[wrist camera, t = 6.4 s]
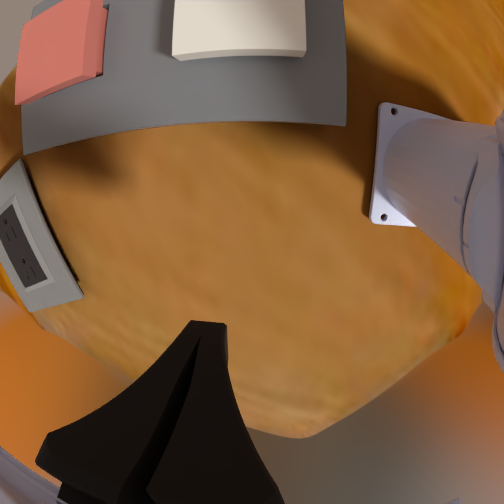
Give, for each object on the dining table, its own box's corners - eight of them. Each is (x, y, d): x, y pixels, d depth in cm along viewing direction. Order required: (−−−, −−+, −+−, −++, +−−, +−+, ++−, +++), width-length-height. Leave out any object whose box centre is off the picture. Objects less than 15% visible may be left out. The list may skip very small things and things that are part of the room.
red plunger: (134, 11, 11) (93, -15, 6) (130, 83, 13) (82, 75, 9) (70, 35, 11) (23, 24, 6) (66, 101, 14) (14, 105, 9)
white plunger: (292, -2, 11) (301, -42, 6) (294, 72, 13) (306, 50, 9) (202, 1, 11) (179, -36, 6) (200, 74, 14) (172, 55, 9)
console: (324, -31, 9) (334, -56, 6) (330, 125, 15) (346, 126, 12) (60, 15, 10) (33, 7, 7) (53, 147, 16) (23, 155, 13)
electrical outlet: (-10, 200, 18) (-25, 207, 16) (35, 153, 16) (16, 159, 14) (39, 301, 24) (28, 313, 21) (94, 285, 22) (81, 300, 19)
